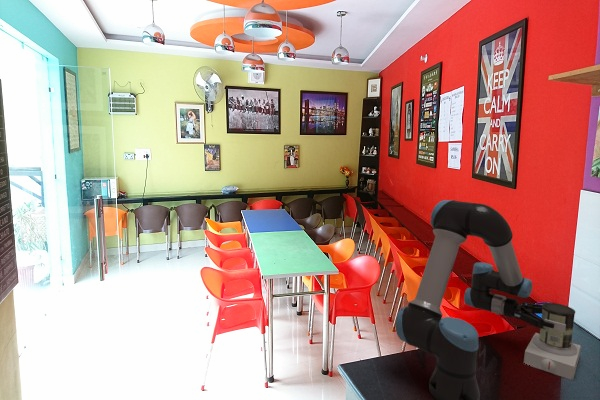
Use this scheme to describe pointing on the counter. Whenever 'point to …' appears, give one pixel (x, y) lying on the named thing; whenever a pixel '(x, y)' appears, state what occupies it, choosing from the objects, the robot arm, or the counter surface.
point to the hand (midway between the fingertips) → (568, 322)
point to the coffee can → (561, 316)
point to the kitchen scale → (552, 358)
